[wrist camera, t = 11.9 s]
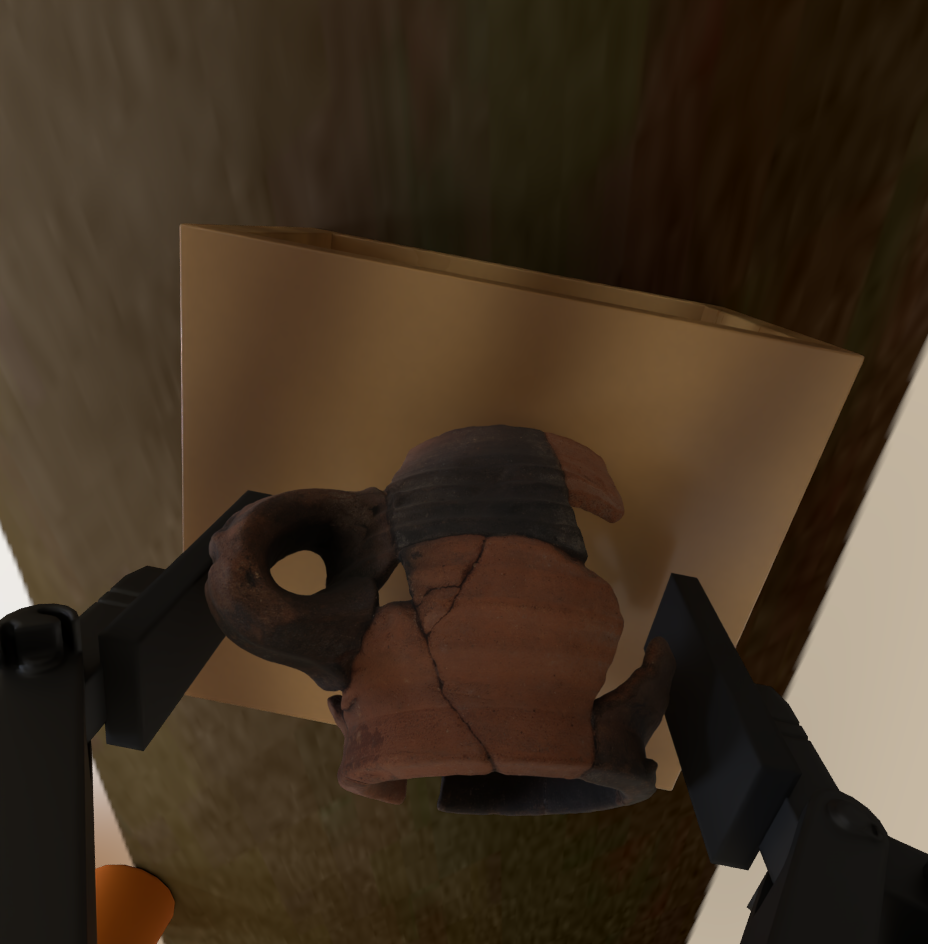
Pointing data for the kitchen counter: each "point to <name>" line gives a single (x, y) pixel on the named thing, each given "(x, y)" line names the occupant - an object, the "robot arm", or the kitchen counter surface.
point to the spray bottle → (131, 905)
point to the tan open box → (492, 414)
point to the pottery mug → (457, 625)
